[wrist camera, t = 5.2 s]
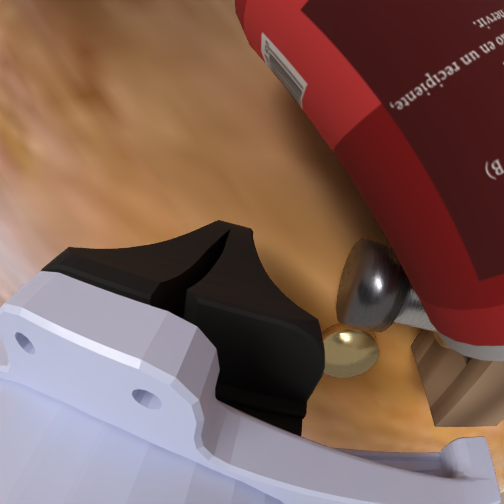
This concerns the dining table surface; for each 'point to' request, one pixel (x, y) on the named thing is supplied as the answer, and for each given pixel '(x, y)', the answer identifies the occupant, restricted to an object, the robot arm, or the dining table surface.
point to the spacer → (349, 350)
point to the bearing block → (459, 385)
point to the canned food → (410, 135)
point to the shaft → (378, 291)
